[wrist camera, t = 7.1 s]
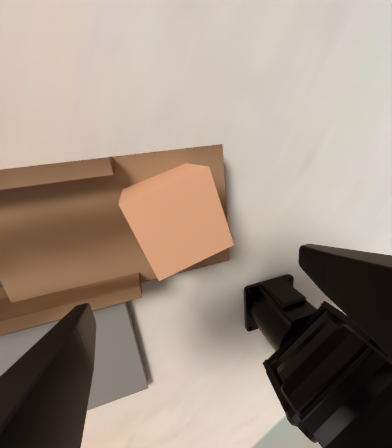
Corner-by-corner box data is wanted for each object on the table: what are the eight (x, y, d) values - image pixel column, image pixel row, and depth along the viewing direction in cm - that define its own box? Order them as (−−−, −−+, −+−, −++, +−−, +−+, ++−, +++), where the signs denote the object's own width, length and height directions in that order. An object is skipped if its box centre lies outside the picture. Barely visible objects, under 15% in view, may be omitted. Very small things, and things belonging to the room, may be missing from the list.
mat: (147, 379, 25) (148, 388, 24) (32, 420, 22) (28, 432, 21) (125, 296, 21) (124, 302, 20) (-19, 334, 18) (-27, 343, 17)
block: (207, 221, 18) (234, 244, 13) (151, 247, 17) (158, 281, 12) (186, 163, 16) (209, 166, 11) (122, 189, 15) (118, 204, 10)
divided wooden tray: (217, 247, 22) (239, 271, 18) (-82, 316, 16) (-165, 379, 12) (209, 145, 19) (234, 143, 14) (-173, 189, 13) (-335, 208, 8)
